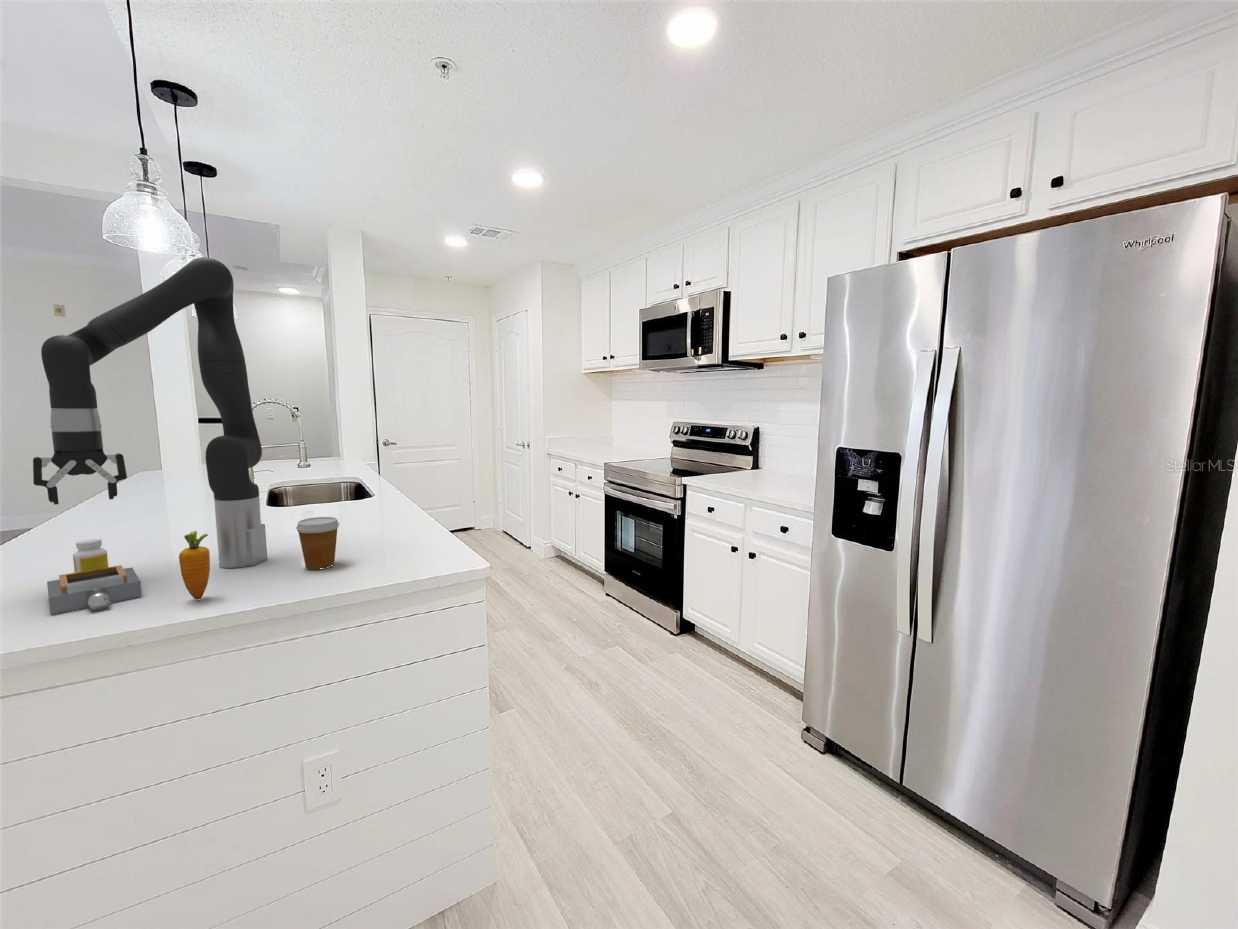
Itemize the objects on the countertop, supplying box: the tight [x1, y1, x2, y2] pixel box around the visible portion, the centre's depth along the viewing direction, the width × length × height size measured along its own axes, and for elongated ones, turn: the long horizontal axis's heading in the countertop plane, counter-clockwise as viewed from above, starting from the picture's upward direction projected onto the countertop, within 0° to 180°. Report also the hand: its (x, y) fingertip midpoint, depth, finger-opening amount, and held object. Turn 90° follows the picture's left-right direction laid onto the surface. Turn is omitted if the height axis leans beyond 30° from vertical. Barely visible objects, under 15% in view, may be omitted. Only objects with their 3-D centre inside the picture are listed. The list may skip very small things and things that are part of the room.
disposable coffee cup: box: [295, 516, 340, 571], centre depth 129 cm, size 10×10×12 cm
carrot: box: [178, 530, 211, 601], centre depth 106 cm, size 5×5×15 cm
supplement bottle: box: [72, 538, 109, 573], centre depth 115 cm, size 5×5×10 cm
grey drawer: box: [46, 564, 143, 616], centre depth 106 cm, size 13×17×5 cm
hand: (84, 501), depth 114 cm, fingers open, 8 cm apart
